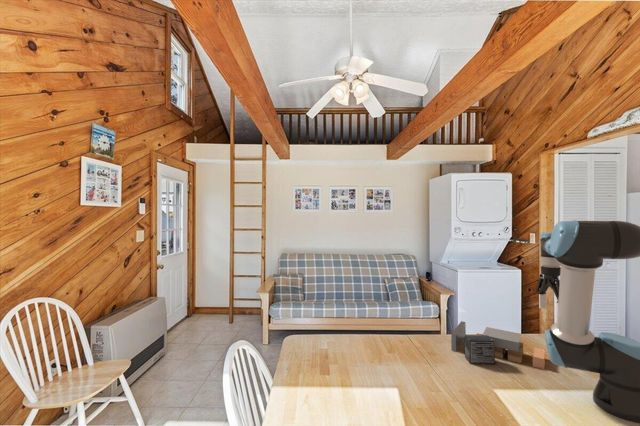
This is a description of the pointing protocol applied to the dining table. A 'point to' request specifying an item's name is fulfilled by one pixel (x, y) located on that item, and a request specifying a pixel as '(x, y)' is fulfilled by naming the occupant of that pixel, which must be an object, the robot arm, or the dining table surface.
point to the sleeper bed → (509, 353)
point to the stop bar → (458, 336)
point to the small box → (479, 349)
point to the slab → (504, 338)
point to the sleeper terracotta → (539, 358)
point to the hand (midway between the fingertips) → (551, 312)
